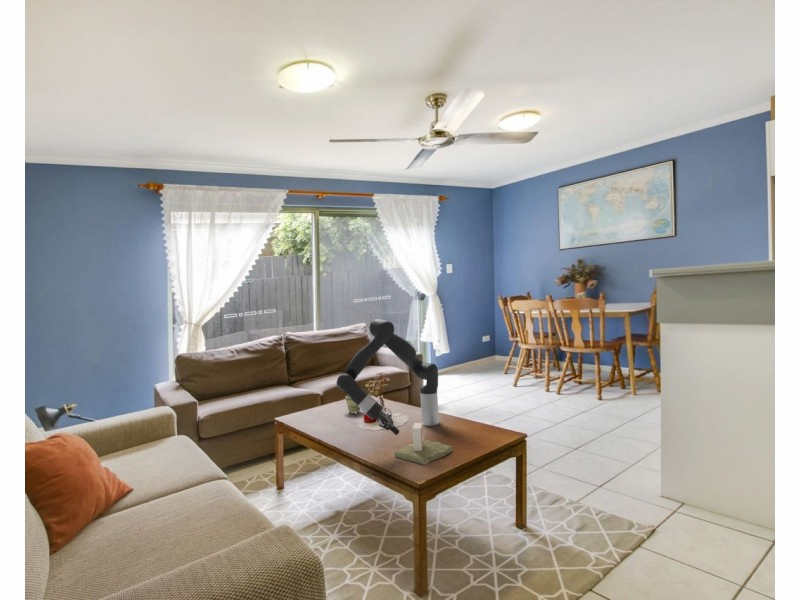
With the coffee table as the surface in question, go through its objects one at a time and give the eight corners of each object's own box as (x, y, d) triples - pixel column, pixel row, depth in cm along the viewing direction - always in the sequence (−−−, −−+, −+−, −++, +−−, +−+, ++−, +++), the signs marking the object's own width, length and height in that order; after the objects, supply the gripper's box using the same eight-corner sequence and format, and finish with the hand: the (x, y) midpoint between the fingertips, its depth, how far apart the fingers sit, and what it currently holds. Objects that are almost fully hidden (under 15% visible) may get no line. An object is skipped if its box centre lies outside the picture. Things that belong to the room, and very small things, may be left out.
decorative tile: (393, 458, 197) (393, 450, 197) (422, 444, 212) (421, 437, 212) (426, 468, 185) (426, 459, 185) (454, 453, 200) (453, 445, 199)
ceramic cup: (345, 414, 265) (344, 398, 265) (347, 410, 275) (346, 394, 275) (366, 413, 265) (366, 397, 265) (367, 409, 275) (367, 393, 275)
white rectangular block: (415, 444, 203) (414, 422, 203) (424, 444, 203) (423, 422, 202) (413, 450, 195) (412, 428, 195) (422, 450, 195) (421, 428, 194)
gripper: (372, 405, 195) (401, 432, 193) (378, 397, 208) (405, 423, 206) (361, 417, 196) (390, 444, 194) (368, 408, 209) (394, 434, 207)
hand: (398, 433), depth 200 cm, fingers closed
